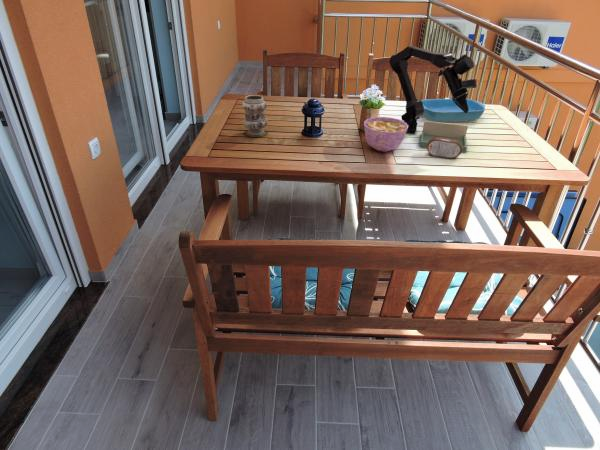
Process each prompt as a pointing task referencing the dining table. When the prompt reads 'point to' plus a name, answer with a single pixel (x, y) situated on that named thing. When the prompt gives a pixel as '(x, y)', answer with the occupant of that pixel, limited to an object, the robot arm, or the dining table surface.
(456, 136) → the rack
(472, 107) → the casserole dish
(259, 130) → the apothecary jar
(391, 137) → the bowl of food
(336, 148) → the dining table surface
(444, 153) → the tin
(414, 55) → the robot arm
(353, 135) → the dining table surface
